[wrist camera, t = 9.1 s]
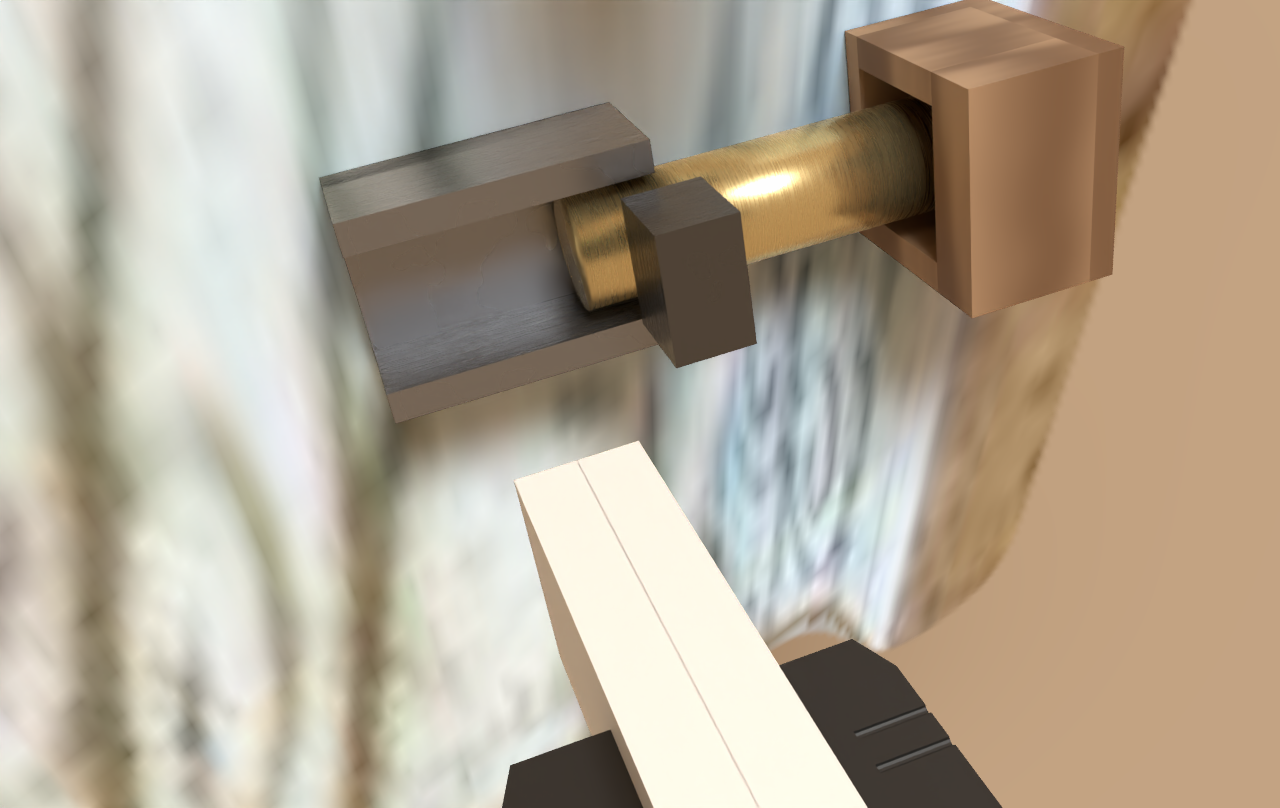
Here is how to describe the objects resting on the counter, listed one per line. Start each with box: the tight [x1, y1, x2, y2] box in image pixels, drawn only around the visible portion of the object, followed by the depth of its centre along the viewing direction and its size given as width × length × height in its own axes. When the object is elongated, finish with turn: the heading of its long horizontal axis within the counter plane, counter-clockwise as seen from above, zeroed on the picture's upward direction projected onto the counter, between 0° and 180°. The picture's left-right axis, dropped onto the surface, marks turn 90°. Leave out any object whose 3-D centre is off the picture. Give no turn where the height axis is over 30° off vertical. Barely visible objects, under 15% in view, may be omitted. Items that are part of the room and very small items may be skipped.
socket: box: [845, 0, 1124, 318], centre depth 38 cm, size 5×7×7 cm
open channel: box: [320, 102, 658, 423], centre depth 37 cm, size 9×6×4 cm
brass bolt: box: [554, 96, 935, 368], centre depth 36 cm, size 13×4×7 cm, turn 99°
